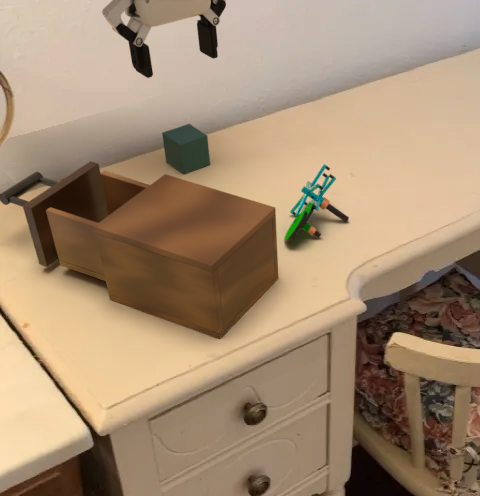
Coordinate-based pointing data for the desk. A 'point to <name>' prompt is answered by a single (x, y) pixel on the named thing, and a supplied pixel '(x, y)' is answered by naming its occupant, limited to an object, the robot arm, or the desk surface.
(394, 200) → the desk surface
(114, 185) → the drawer
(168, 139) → the block
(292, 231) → the stick construction toy
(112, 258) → the cabinet
